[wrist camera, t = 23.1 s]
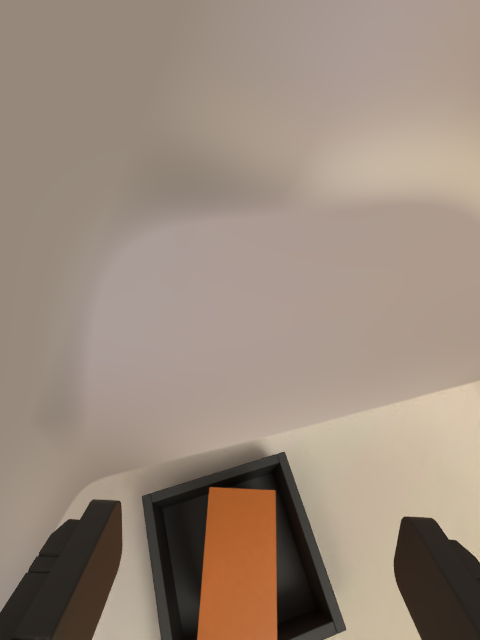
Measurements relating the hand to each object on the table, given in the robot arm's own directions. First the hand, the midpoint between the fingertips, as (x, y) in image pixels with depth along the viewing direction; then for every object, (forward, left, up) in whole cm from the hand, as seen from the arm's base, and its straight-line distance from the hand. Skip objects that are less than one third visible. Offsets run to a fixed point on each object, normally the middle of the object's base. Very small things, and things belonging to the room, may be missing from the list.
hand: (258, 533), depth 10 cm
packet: (0, -1, -29) cm, 29 cm away
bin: (0, -1, -30) cm, 30 cm away
